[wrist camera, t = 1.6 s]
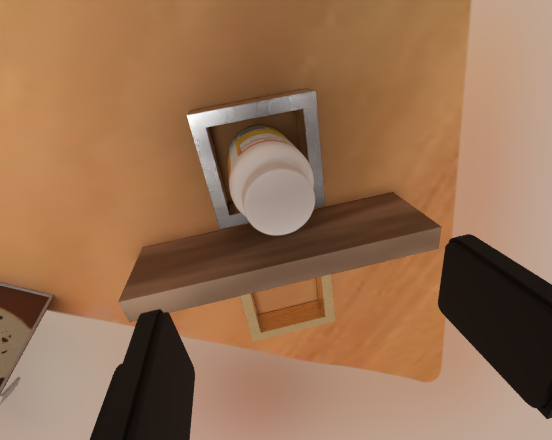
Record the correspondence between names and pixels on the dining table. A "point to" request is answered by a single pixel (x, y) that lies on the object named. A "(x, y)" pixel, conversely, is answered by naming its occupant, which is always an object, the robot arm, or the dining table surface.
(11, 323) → the food container
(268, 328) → the double square frame
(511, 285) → the robot arm
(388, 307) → the dining table surface
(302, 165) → the supplement bottle
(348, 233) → the brown wooden plank
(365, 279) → the dining table surface
